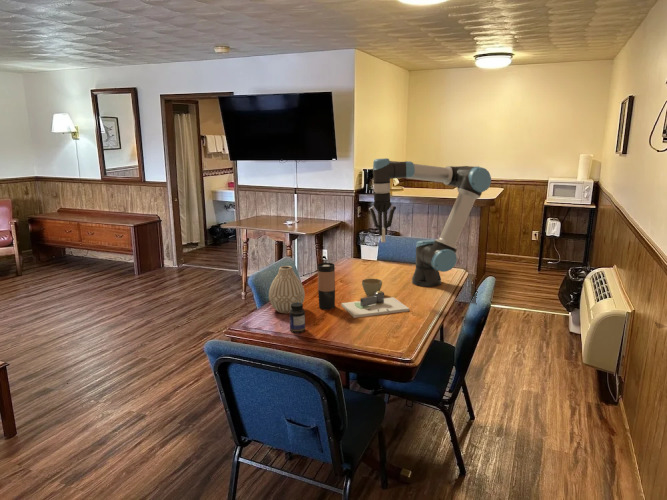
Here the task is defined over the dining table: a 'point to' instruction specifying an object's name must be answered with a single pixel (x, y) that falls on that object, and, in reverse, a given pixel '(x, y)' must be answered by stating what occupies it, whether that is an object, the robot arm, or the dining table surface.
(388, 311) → the board
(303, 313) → the pill bottle
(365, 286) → the flower pot
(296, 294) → the vase
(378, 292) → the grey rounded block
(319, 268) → the travel mug
